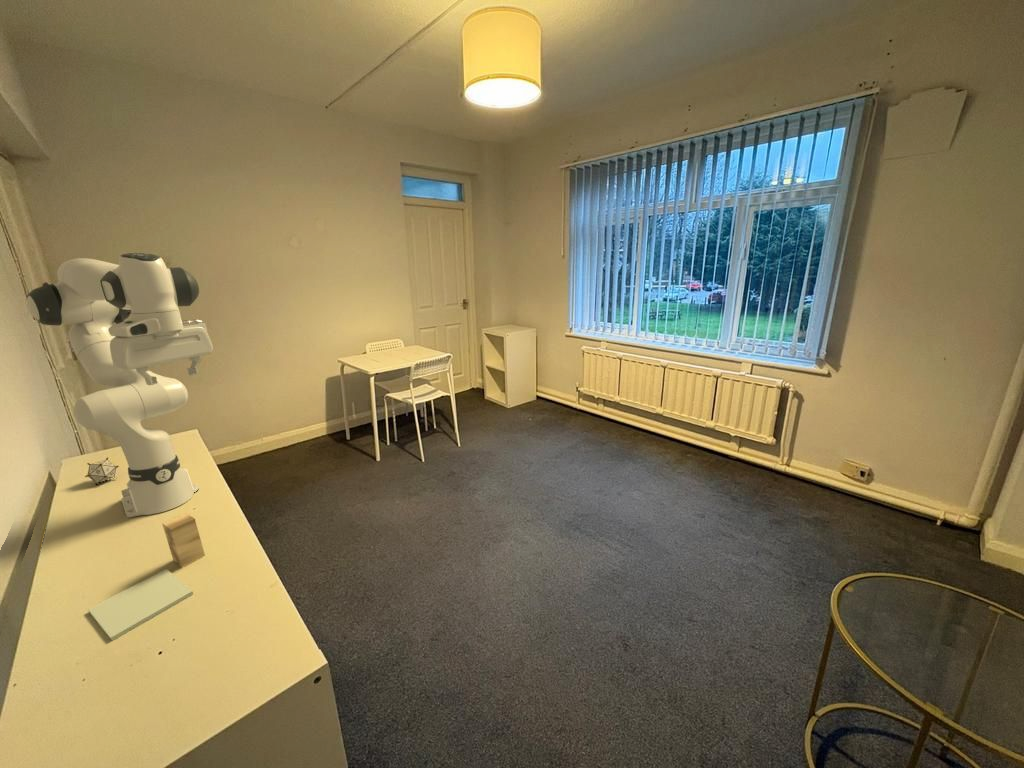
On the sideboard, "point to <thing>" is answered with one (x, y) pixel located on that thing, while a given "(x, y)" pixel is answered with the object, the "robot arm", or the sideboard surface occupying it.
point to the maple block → (183, 539)
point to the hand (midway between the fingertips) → (174, 379)
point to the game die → (101, 471)
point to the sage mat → (139, 603)
